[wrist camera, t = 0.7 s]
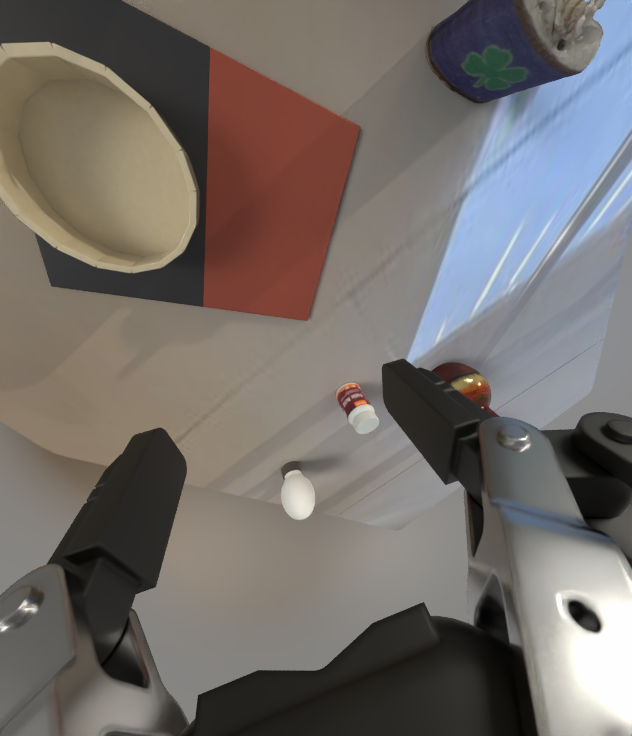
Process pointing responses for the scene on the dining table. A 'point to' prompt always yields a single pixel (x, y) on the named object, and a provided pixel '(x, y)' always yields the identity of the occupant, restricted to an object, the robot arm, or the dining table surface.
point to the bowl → (91, 161)
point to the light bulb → (296, 492)
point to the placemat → (211, 161)
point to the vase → (467, 383)
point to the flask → (513, 45)
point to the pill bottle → (357, 408)
